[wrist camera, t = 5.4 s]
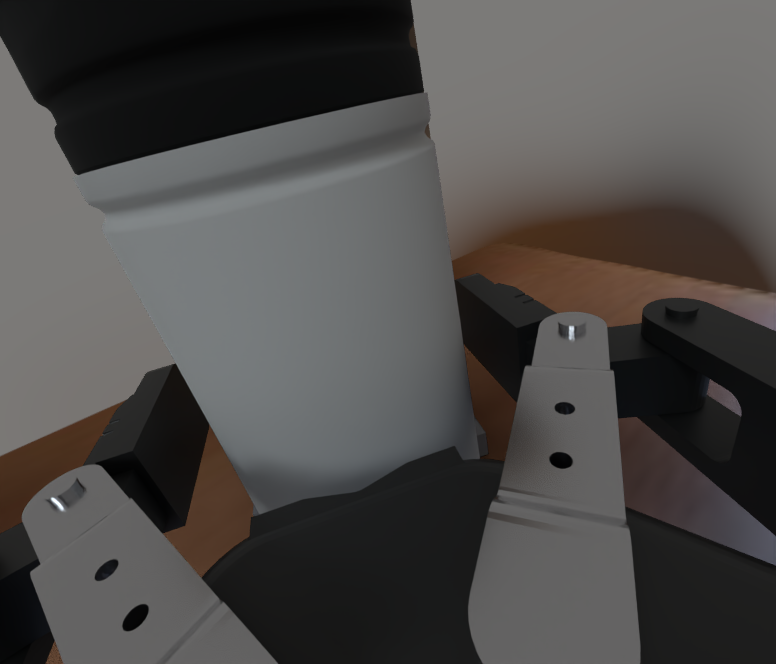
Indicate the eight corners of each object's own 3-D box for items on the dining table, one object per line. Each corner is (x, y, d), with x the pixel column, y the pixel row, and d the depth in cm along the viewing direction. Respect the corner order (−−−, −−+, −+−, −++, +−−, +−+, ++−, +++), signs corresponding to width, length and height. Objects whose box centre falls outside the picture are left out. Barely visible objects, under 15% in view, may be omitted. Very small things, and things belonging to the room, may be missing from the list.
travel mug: (298, 659, 15) (-169, -54, 5) (394, 514, 19) (229, -14, 10) (452, 789, 11) (-140, -652, 2) (526, 574, 16) (464, -165, 6)
